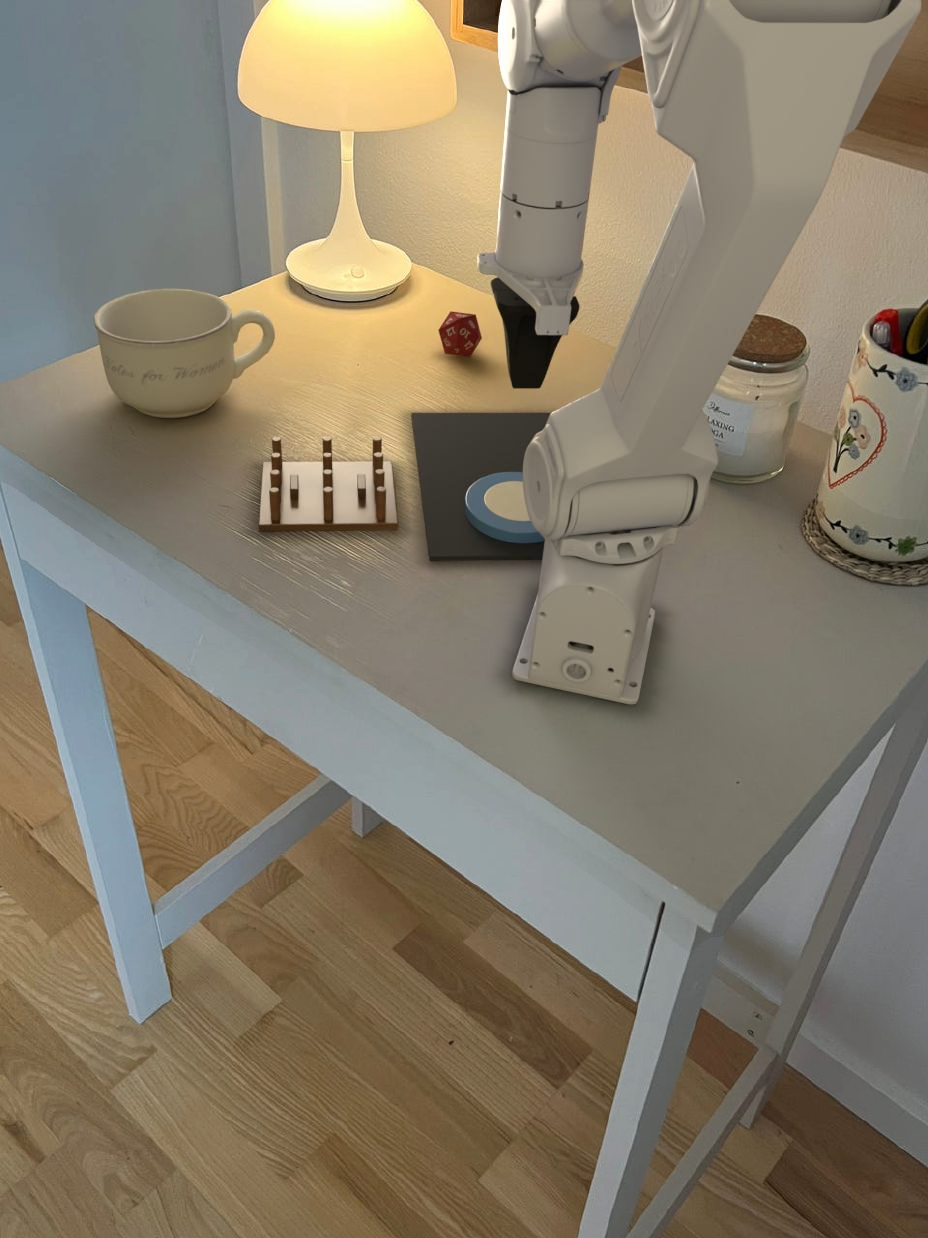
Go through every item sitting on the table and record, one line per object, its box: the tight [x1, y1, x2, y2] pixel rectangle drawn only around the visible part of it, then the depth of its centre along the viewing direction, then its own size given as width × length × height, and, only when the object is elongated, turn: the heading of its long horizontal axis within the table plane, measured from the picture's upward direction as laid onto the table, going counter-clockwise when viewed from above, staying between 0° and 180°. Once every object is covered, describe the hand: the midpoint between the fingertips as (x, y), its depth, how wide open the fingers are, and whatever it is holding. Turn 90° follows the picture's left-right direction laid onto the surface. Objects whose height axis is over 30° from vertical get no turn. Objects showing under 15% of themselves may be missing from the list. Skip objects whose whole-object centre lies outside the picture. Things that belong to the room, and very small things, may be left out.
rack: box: [258, 436, 399, 532], centre depth 84 cm, size 8×10×3 cm
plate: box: [465, 472, 545, 543], centre depth 84 cm, size 1×8×8 cm
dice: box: [438, 311, 483, 358], centre depth 103 cm, size 4×4×4 cm
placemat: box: [410, 412, 552, 562], centre depth 88 cm, size 20×14×1 cm
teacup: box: [93, 288, 276, 419], centre depth 93 cm, size 14×11×8 cm
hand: (525, 383), depth 81 cm, fingers closed
